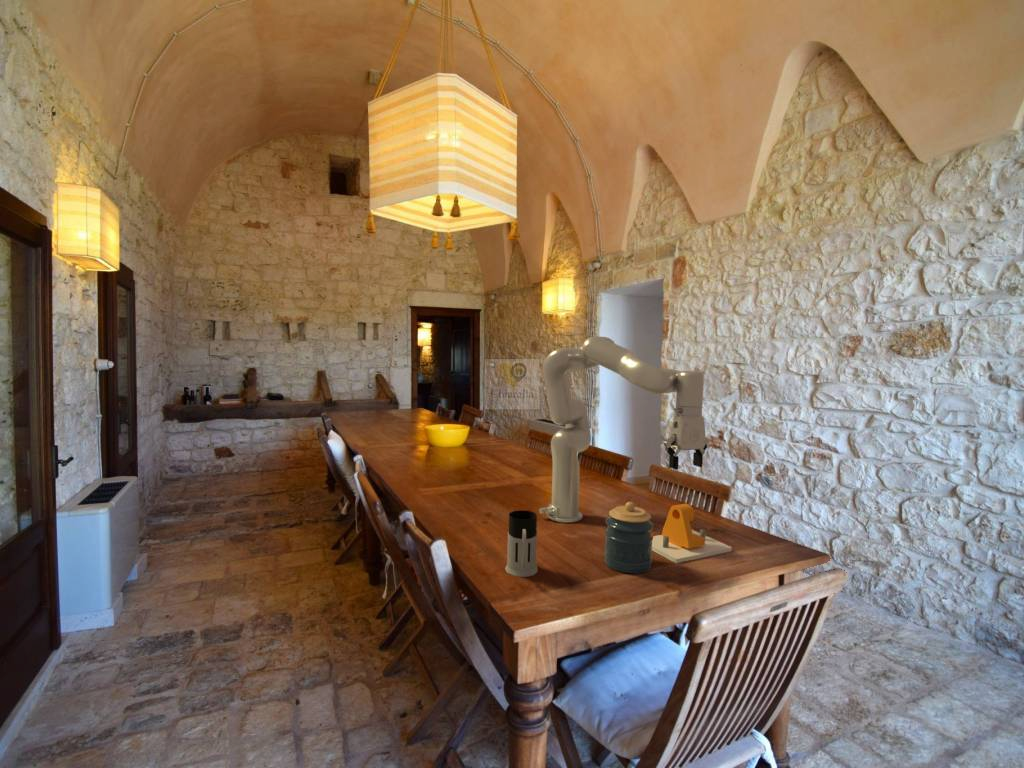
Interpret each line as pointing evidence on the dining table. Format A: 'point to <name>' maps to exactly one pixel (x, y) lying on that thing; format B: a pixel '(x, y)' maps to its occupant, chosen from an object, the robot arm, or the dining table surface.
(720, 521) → the dining table surface
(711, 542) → the locating board
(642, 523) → the canister
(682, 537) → the bracket
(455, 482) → the dining table surface
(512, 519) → the glass holder
